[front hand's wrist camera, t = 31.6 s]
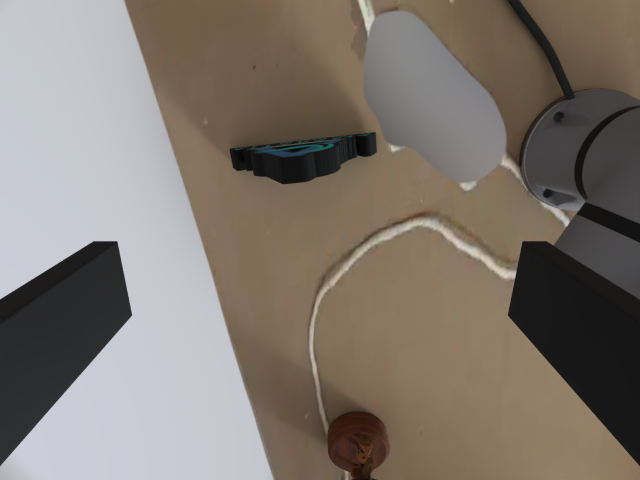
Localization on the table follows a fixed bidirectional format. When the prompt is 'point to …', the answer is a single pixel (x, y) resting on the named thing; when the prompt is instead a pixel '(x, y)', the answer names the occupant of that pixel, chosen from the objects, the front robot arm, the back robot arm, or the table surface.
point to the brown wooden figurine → (358, 444)
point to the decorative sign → (302, 157)
